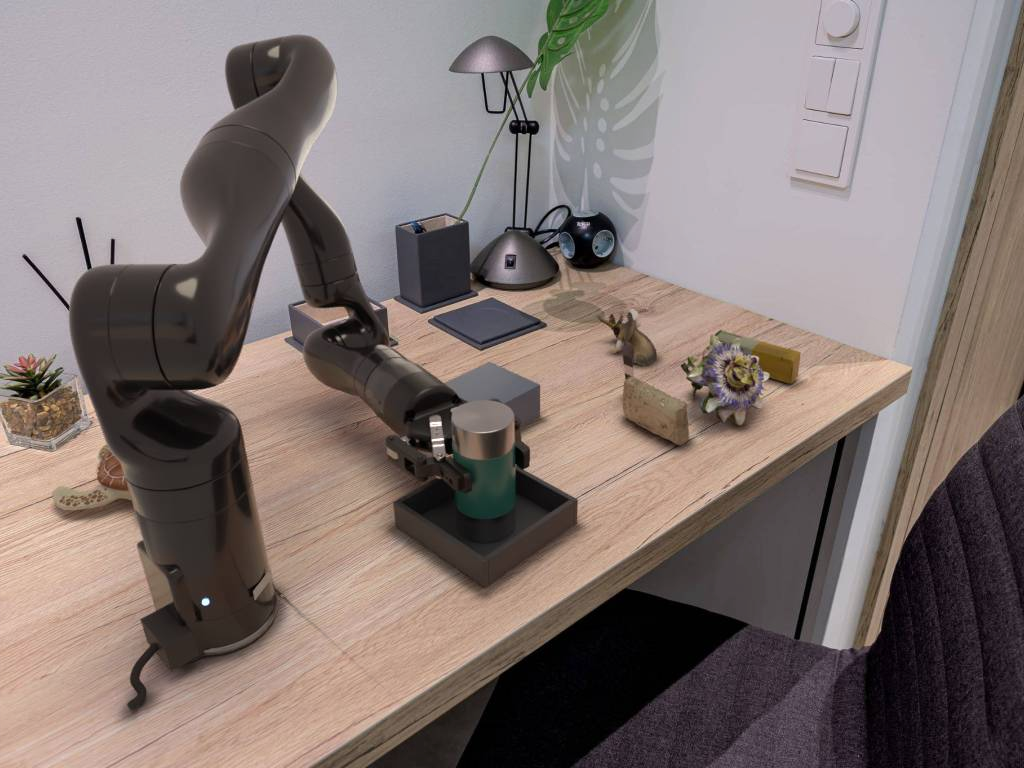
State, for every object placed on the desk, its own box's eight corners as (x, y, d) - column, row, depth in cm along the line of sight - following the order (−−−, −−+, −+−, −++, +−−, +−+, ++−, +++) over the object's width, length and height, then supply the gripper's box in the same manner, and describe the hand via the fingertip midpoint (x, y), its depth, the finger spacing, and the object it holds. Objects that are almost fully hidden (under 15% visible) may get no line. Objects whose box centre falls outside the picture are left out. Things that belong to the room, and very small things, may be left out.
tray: (484, 592, 76) (483, 563, 75) (395, 529, 85) (392, 501, 83) (577, 526, 85) (578, 499, 83) (488, 475, 93) (487, 449, 91)
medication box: (709, 361, 116) (710, 336, 114) (718, 353, 118) (719, 328, 116) (791, 385, 110) (793, 359, 107) (799, 376, 111) (802, 350, 109)
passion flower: (731, 458, 105) (719, 418, 95) (667, 412, 111) (649, 370, 101) (788, 394, 106) (781, 348, 96) (721, 352, 112) (709, 305, 102)
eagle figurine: (584, 339, 120) (615, 354, 112) (605, 295, 120) (638, 306, 112) (623, 358, 124) (656, 373, 116) (643, 315, 123) (678, 327, 115)
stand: (488, 448, 98) (487, 412, 95) (438, 420, 103) (436, 386, 101) (540, 419, 103) (540, 384, 101) (490, 394, 109) (489, 361, 106)
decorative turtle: (57, 553, 82) (43, 513, 79) (54, 468, 95) (42, 431, 92) (243, 501, 89) (235, 463, 87) (217, 429, 102) (209, 394, 100)
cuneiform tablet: (628, 398, 107) (702, 434, 99) (604, 416, 105) (678, 454, 97) (623, 354, 103) (700, 387, 95) (598, 371, 101) (675, 407, 93)
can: (485, 552, 81) (481, 440, 74) (444, 524, 84) (437, 416, 78) (528, 523, 84) (528, 415, 78) (487, 498, 88) (483, 393, 82)
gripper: (349, 391, 85) (431, 465, 73) (465, 353, 93) (558, 415, 81) (356, 451, 89) (436, 532, 77) (468, 411, 96) (557, 478, 84)
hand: (498, 472), depth 79 cm, fingers closed on can, 6 cm apart
